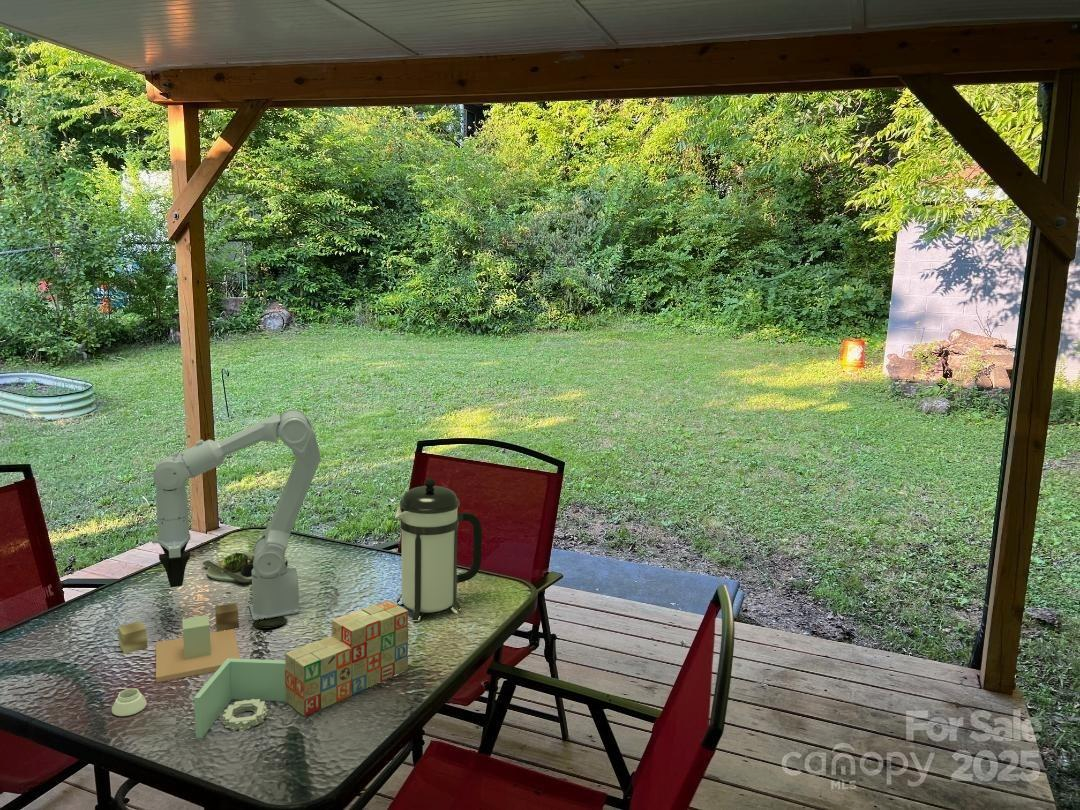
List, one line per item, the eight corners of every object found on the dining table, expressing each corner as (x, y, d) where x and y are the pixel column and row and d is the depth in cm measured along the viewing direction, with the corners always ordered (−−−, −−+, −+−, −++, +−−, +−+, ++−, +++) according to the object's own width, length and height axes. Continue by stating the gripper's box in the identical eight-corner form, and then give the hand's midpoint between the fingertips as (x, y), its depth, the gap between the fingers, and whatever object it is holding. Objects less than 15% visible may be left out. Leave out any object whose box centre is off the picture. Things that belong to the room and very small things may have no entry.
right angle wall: (196, 741, 114) (193, 697, 113) (229, 698, 126) (227, 658, 125) (272, 744, 114) (270, 700, 113) (298, 701, 126) (297, 660, 125)
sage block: (209, 644, 141) (208, 615, 140) (210, 654, 138) (209, 624, 137) (183, 648, 139) (182, 619, 138) (184, 659, 135) (182, 629, 134)
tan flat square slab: (234, 633, 148) (234, 628, 148) (240, 666, 136) (240, 661, 136) (156, 647, 142) (156, 642, 141) (156, 682, 129) (155, 677, 129)
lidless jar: (153, 703, 124) (126, 699, 124) (152, 687, 123) (125, 683, 124) (132, 720, 119) (105, 716, 119) (131, 703, 118) (103, 699, 119)
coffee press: (448, 630, 153) (450, 491, 148) (381, 616, 158) (381, 482, 153) (481, 597, 169) (484, 471, 164) (420, 586, 174) (420, 464, 169)
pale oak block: (142, 640, 144) (140, 621, 144) (147, 647, 141) (146, 628, 141) (119, 646, 142) (117, 626, 141) (124, 654, 139) (122, 634, 138)
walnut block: (236, 620, 154) (236, 602, 153) (238, 628, 150) (238, 610, 150) (216, 624, 152) (215, 606, 151) (217, 632, 148) (216, 614, 148)
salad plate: (182, 581, 173) (181, 563, 172) (227, 554, 190) (226, 538, 189) (256, 590, 169) (255, 571, 169) (295, 562, 187) (295, 545, 186)
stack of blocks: (304, 718, 121) (302, 649, 119) (285, 702, 125) (283, 635, 123) (408, 671, 136) (408, 609, 134) (388, 658, 140) (388, 598, 138)
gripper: (150, 507, 153) (154, 569, 155) (150, 529, 140) (153, 595, 142) (188, 504, 156) (191, 564, 158) (190, 524, 143) (193, 590, 146)
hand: (176, 579), depth 151 cm, fingers open, 7 cm apart
